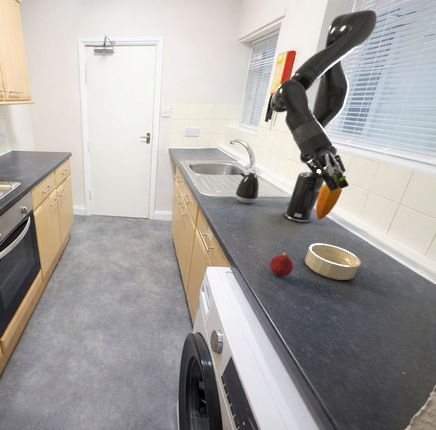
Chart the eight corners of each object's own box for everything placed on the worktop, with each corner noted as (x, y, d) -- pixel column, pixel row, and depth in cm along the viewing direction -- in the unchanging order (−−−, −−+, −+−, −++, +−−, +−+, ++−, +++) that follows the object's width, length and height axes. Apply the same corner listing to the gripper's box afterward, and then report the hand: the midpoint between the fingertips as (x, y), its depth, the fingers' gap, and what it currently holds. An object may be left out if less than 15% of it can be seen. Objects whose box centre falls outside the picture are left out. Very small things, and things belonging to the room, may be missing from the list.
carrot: (329, 219, 83) (349, 173, 77) (327, 224, 80) (347, 177, 74) (311, 214, 86) (328, 170, 80) (308, 219, 83) (325, 173, 77)
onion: (291, 283, 78) (300, 260, 74) (270, 280, 79) (278, 257, 75) (284, 271, 83) (292, 249, 79) (264, 268, 84) (271, 247, 80)
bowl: (297, 255, 91) (302, 241, 89) (339, 260, 89) (346, 246, 87) (314, 277, 80) (320, 262, 78) (362, 285, 78) (370, 269, 75)
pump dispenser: (236, 196, 142) (242, 169, 136) (257, 201, 137) (265, 172, 130) (231, 202, 135) (238, 173, 128) (253, 207, 129) (261, 177, 123)
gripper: (309, 132, 75) (340, 185, 71) (336, 130, 81) (367, 179, 77) (285, 147, 82) (312, 197, 77) (312, 144, 88) (339, 190, 83)
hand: (339, 188), depth 77 cm, fingers closed on carrot, 4 cm apart
